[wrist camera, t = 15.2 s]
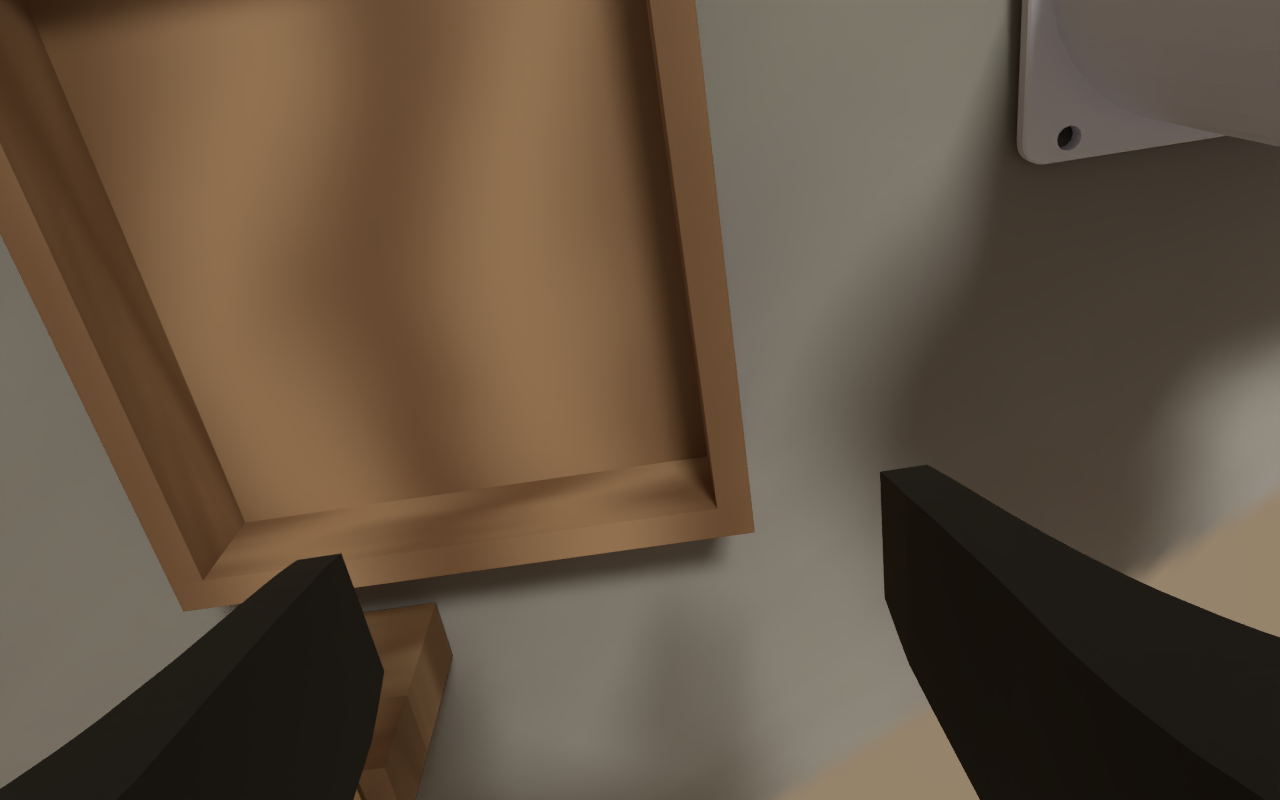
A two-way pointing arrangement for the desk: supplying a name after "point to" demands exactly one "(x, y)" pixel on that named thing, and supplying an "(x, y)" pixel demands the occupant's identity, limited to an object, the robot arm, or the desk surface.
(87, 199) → the wooden tray
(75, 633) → the desk surface
